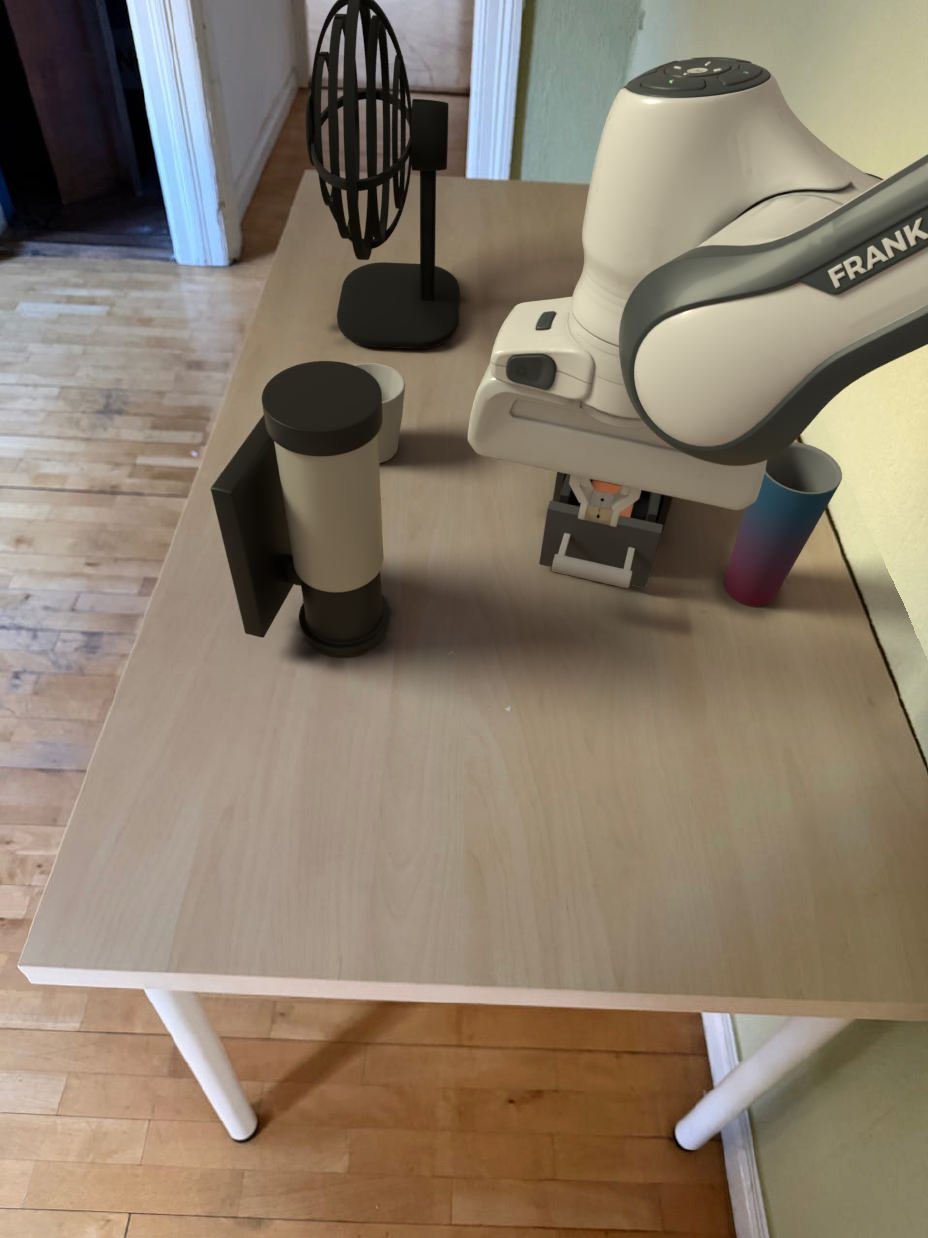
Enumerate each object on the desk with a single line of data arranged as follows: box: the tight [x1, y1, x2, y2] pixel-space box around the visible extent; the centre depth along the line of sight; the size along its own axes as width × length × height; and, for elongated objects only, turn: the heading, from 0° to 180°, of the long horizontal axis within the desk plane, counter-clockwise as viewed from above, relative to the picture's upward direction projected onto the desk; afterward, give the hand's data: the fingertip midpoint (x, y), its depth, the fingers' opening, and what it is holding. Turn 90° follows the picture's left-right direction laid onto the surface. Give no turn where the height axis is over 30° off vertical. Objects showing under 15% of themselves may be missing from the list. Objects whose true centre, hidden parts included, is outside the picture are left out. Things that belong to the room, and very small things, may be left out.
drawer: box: [538, 474, 663, 589], centre depth 84 cm, size 18×10×7 cm, turn 164°
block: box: [592, 480, 635, 518], centre depth 85 cm, size 4×4×4 cm
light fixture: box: [210, 360, 391, 658], centre depth 71 cm, size 12×11×25 cm
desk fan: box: [305, 0, 461, 350], centre depth 102 cm, size 27×18×35 cm, turn 179°
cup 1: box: [353, 362, 406, 464], centre depth 93 cm, size 8×10×8 cm
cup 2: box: [723, 441, 843, 608], centre depth 79 cm, size 7×7×15 cm
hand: (598, 517), depth 65 cm, fingers closed
